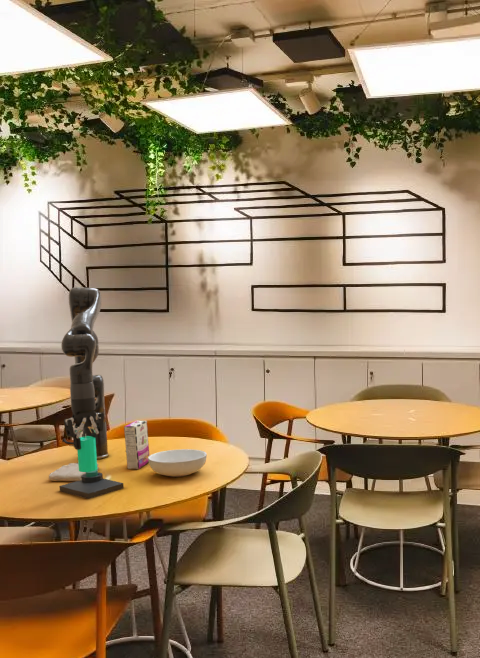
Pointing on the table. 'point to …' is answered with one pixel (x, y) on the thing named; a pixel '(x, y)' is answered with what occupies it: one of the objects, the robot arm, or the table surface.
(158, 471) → the serving bowl
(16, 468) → the table surface
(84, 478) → the scale
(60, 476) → the washcloth
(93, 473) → the button
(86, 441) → the candle
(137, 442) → the candy bar box
